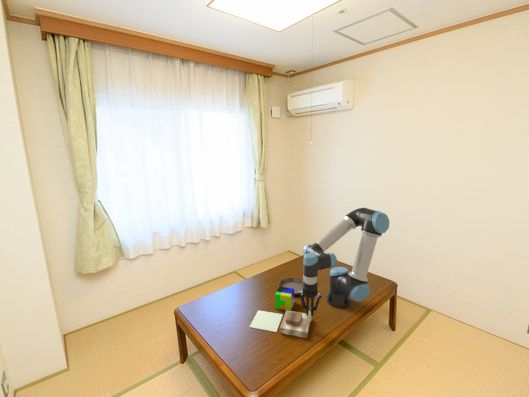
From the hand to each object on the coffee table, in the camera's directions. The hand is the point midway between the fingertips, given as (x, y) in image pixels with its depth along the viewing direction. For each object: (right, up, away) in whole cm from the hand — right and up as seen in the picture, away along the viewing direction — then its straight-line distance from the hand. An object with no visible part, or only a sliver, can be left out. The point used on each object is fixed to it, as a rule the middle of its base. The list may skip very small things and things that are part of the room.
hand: (309, 320), depth 149 cm
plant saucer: (-5, +3, +43) cm, 43 cm away
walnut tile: (-8, -2, +3) cm, 9 cm away
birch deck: (-7, -5, +4) cm, 9 cm away
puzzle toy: (-12, -1, +24) cm, 26 cm away
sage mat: (-24, -4, +9) cm, 26 cm away
